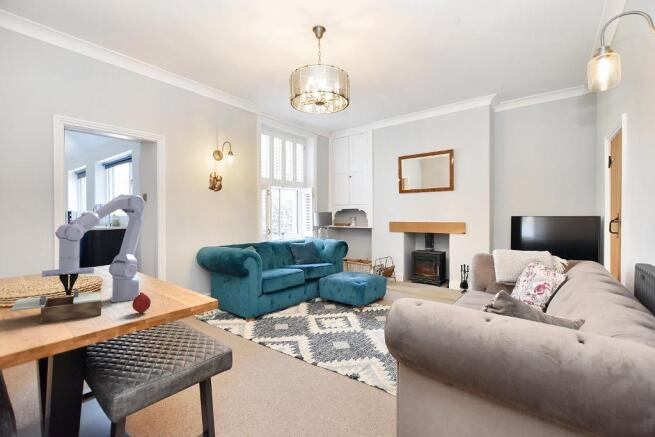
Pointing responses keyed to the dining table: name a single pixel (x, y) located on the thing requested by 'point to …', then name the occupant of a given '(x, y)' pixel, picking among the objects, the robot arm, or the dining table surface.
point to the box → (68, 309)
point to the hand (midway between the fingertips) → (68, 294)
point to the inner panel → (86, 297)
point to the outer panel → (30, 303)
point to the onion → (141, 303)
